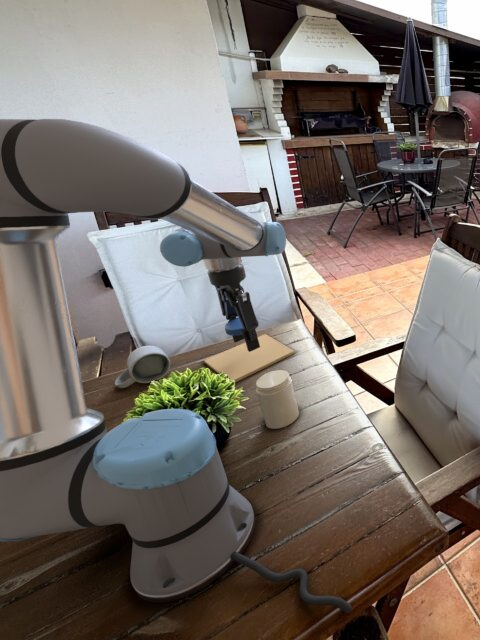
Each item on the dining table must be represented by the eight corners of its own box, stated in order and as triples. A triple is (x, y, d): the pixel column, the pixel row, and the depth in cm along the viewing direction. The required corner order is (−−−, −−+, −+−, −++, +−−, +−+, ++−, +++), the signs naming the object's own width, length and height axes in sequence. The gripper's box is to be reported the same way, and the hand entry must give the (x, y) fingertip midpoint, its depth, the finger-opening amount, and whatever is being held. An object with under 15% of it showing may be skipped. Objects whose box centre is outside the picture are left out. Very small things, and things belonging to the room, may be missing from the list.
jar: (305, 414, 89) (296, 376, 86) (275, 433, 84) (264, 393, 80) (289, 403, 93) (279, 365, 89) (259, 420, 88) (248, 381, 84)
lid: (263, 326, 107) (262, 320, 107) (233, 339, 102) (231, 332, 101) (251, 318, 111) (249, 313, 111) (221, 330, 105) (219, 324, 105)
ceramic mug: (166, 361, 108) (157, 337, 105) (175, 373, 103) (165, 348, 100) (114, 382, 100) (102, 356, 97) (120, 395, 95) (108, 369, 92)
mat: (294, 353, 112) (294, 350, 111) (231, 384, 99) (231, 381, 99) (265, 336, 120) (265, 333, 120) (204, 362, 107) (203, 360, 107)
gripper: (260, 270, 98) (280, 349, 106) (223, 254, 108) (244, 327, 116) (226, 281, 92) (250, 364, 100) (190, 263, 102) (214, 339, 110)
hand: (246, 344), depth 108 cm, fingers closed on lid, 7 cm apart
